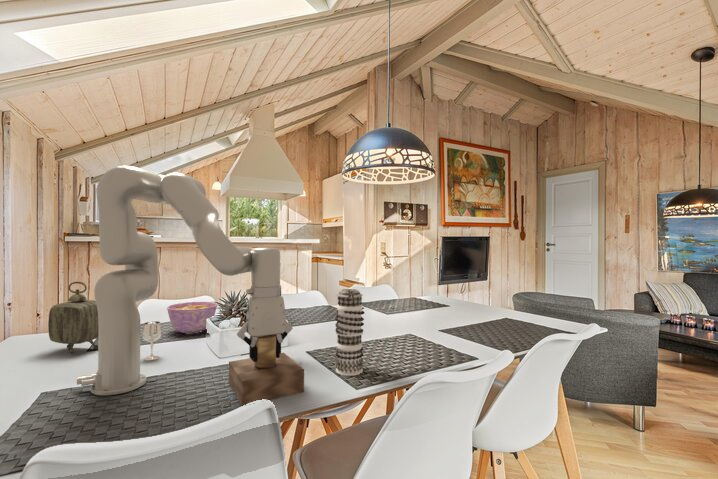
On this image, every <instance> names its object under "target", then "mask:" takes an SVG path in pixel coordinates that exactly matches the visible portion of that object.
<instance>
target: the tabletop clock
mask: <svg viewBox="0 0 718 479" xmlns="http://www.w3.org/2000/svg"><path fill="white" fill-rule="evenodd" d="M74 284H79V285H82V286H84V290H81V291H80V289H79V288H78V289H75V291H74V290H72V289H71V286H72V285H74ZM87 289H88V288H87V284H85V283H84V282H82V281H72V282H71V283H70V284H68V291H69V292H70V293H73V294H72V295H71V296H70V297H69V298H68V299H67V302H61V303H56V304H54V305H53V306H51V308H50V309H49V312H48V325H47V326H48V337H49V340H50V341H52V342H54V343H58V344H62V345H63V344H65V345H66V348H67V349H68V351H67V352H68V353H69V354H73V353H75V350H74V346H75V345H80V344H84V343H86V342H88V343H90V344H91V345H92V346H93V349H94V350H98V344H96V343H95V342H94V341H93V340H96V339H98V336H99V332H98V310H97V305H96V300H95V299H87V296H85V295H84V294H83V293H85V292H86V291H87Z"/></svg>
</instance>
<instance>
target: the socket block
mask: <svg viewBox="0 0 718 479" xmlns="http://www.w3.org/2000/svg"><path fill="white" fill-rule="evenodd" d="M228 385H229V386H230V388H231V387H232V388H231V389H233V390H232V391H233V393H234V392H235V393H234V395H235V394H236V395H235V397H236V398H237V397H238V398H237V400H238V399H239V400H238V402H239V403H240V404H241V406H242V405H244V404H247V403H249V402H253V401H256V400H262V399H268V400H267V401H269V400H275V399H277V398H283V397H287V396H292V395H295V394H301V393H304V392H305V368H304V367H302V366H301V365H300V364H299V363H297V362H296V360H294V359H292V358H291V357H290V356H289V355H287V354H286V353H285V352H281V354H280V357H279V358H276V366H274V367H272V368H269V369H261V370H259V369H258V368H255V362H253V360H252V359H250V357H249V358H243V359H237V360H231V361H228Z"/></svg>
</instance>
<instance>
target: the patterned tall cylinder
mask: <svg viewBox="0 0 718 479" xmlns="http://www.w3.org/2000/svg"><path fill="white" fill-rule="evenodd" d="M336 296H337V304H336V306H337V307H336V311H335V312H334V315H335V317H334V318H335V319H334V320H335V321H336V323H335V330H334V331H335V334H336V335H337V341H336V347H335V351H336V352H335V356H336V358H335V373H336V374H338V375H340V376H346V377H349V376H359V375H360V373H361V374H362V373H363V370H364V369H363V367H364V364H363V362H364V358H363V357H364V353H363V351H364V349H363V348H364V347H363V342H362V335H363V334H364V329H363V328H362V327H363V326H364V325H365V323H364V322H363V321H364V320H365V318H364V317H362V316H363V315H364V314H365V311H364V309H365V307H363V304H362V303H363V302H362V300H363V298H362V296H363V293H362V294H361V292H360V290H358V289H354V288H346V289H340V291H339V292H338V293H337V294H336Z"/></svg>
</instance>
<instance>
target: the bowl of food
mask: <svg viewBox="0 0 718 479" xmlns="http://www.w3.org/2000/svg"><path fill="white" fill-rule="evenodd" d="M217 308H218V303H216V302H213V301H191V302H187V301H186V302H180V303H174V304H171V305H169V306H166V309H167V314H168V317H169V321H170V325H171V327H172V328H173V330H174V331H177V332H179V333H182V332H183V333H196V332H200V331H202V330H203V331H205V330H207V329H206V319H207V318H210V317H212V316H214V315H215V316H216V311H217ZM215 316H214V317H215ZM203 331H202V332H203Z"/></svg>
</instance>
